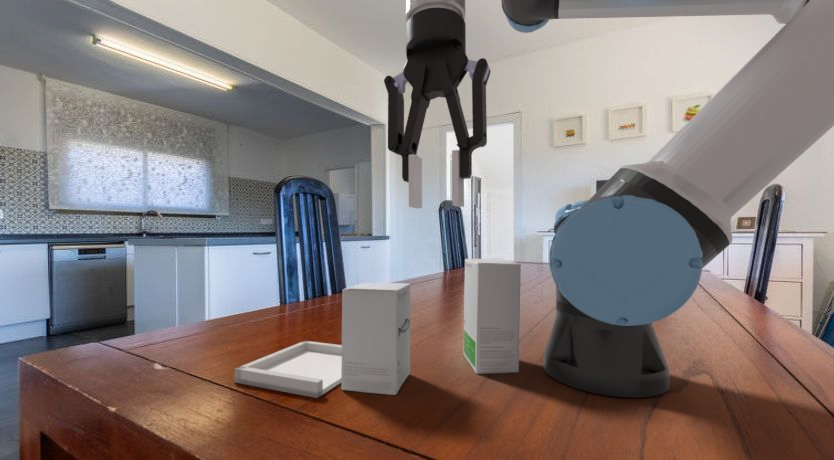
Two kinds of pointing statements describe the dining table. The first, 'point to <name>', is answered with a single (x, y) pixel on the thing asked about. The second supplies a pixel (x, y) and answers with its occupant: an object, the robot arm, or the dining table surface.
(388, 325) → the supplement box
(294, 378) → the grey tray
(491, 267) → the skincare box
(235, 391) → the dining table surface
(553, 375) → the robot arm
